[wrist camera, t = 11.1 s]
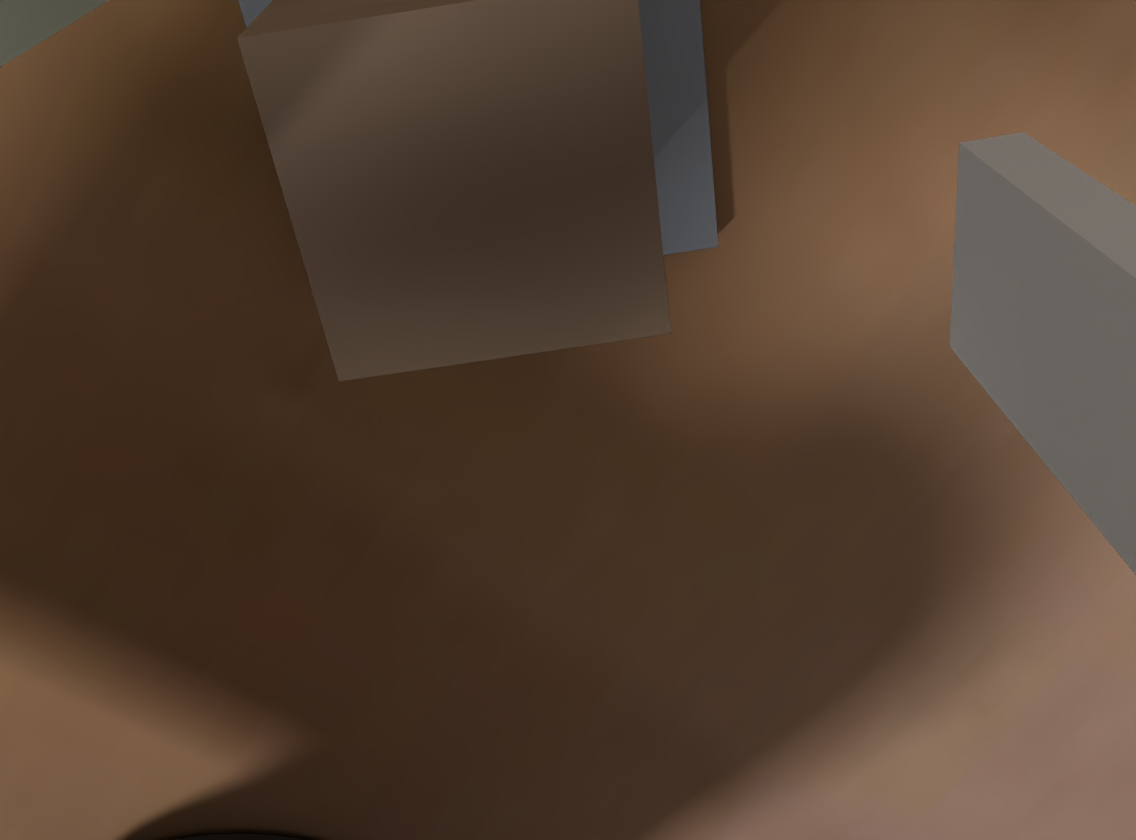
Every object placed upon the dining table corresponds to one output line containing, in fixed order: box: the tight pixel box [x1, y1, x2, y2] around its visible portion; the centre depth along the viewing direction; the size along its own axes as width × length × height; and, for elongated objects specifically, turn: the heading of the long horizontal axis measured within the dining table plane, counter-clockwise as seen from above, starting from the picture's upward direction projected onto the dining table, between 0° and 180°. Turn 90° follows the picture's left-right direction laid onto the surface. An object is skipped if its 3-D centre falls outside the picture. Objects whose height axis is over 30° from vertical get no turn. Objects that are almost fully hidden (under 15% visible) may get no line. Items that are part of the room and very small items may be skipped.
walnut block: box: [237, 0, 671, 382], centre depth 19 cm, size 6×6×7 cm
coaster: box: [238, 0, 718, 255], centre depth 22 cm, size 9×9×1 cm
